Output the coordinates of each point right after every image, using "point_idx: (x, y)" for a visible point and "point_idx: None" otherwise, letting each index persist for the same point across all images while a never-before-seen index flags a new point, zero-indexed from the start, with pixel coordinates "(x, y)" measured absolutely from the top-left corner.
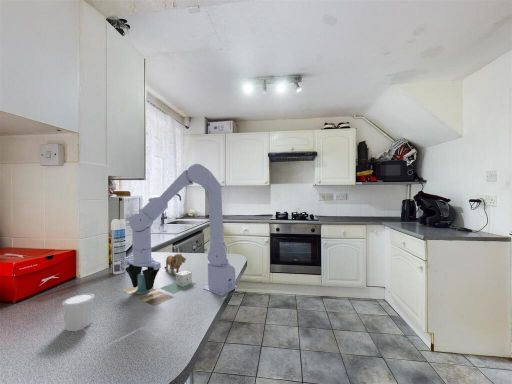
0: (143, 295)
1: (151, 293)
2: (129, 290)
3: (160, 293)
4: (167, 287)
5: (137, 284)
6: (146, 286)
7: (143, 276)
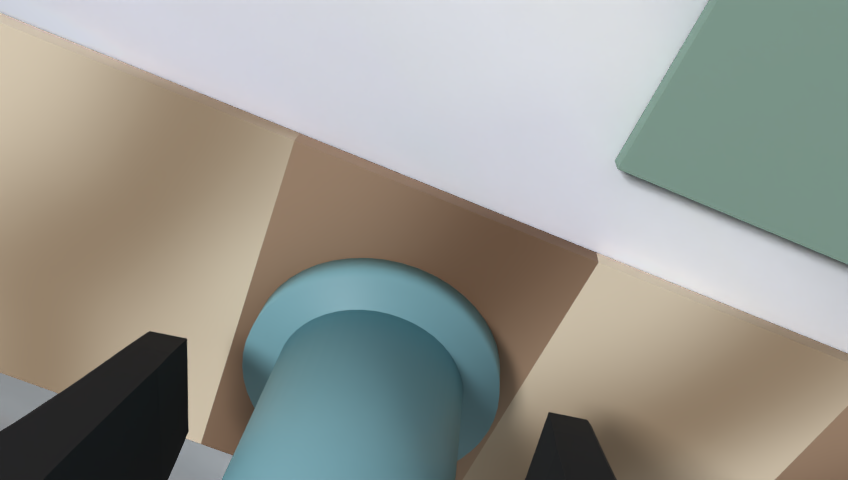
0: (488, 469)
1: (585, 402)
2: (81, 347)
3: (772, 386)
4: (812, 108)
5: (168, 406)
6: None
7: None
